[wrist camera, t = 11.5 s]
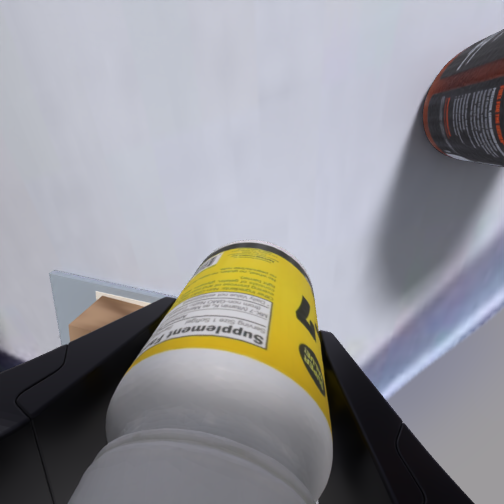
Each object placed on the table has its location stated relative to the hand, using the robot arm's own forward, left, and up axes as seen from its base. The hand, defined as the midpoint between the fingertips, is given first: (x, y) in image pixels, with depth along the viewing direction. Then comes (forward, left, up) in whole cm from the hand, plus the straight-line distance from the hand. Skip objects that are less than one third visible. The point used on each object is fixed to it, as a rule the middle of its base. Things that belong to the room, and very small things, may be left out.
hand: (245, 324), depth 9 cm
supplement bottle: (0, 0, -2) cm, 2 cm away
